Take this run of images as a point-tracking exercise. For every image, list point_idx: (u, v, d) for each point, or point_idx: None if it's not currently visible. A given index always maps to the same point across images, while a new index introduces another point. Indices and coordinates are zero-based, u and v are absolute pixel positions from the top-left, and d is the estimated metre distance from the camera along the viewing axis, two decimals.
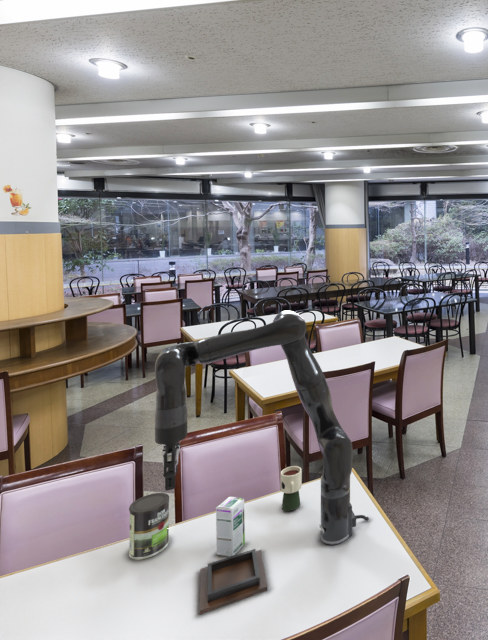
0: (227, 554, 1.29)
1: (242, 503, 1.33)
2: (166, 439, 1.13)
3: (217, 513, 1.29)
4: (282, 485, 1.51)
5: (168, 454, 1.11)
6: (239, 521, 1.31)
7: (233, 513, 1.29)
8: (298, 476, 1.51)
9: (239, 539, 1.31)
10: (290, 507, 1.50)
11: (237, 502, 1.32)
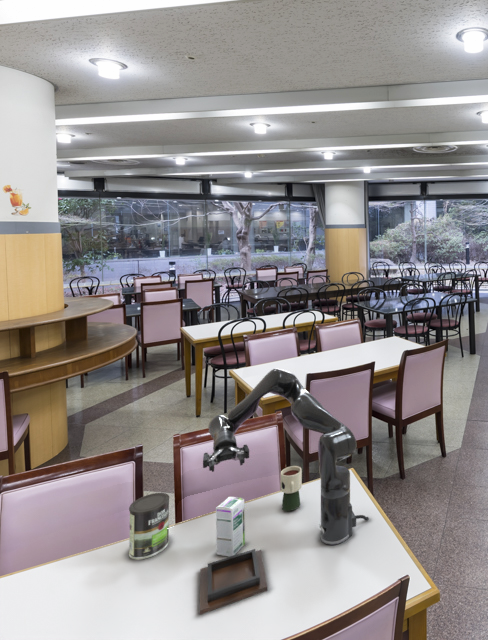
0: (227, 554, 1.29)
1: (242, 503, 1.33)
2: None
3: (217, 513, 1.29)
4: (282, 485, 1.51)
5: None
6: (239, 521, 1.31)
7: (233, 513, 1.29)
8: (298, 476, 1.51)
9: (239, 539, 1.31)
10: (290, 507, 1.50)
11: (237, 502, 1.32)
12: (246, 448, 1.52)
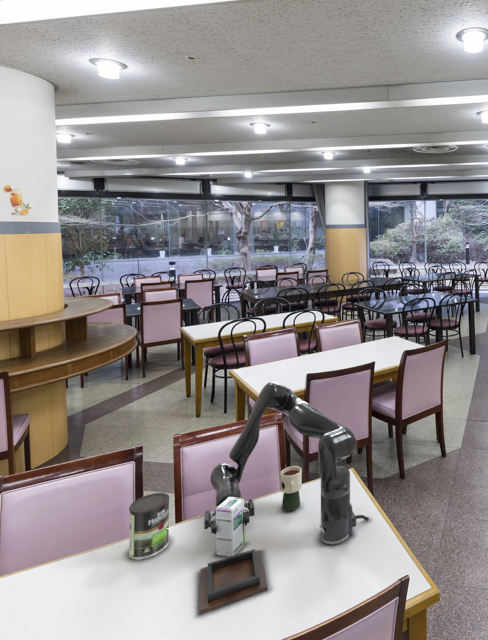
0: (227, 554, 1.29)
1: (242, 503, 1.33)
2: None
3: (217, 513, 1.29)
4: (282, 485, 1.51)
5: None
6: (239, 521, 1.31)
7: (233, 513, 1.29)
8: (298, 476, 1.51)
9: (239, 539, 1.31)
10: (290, 507, 1.50)
11: (237, 502, 1.32)
12: (251, 504, 1.39)
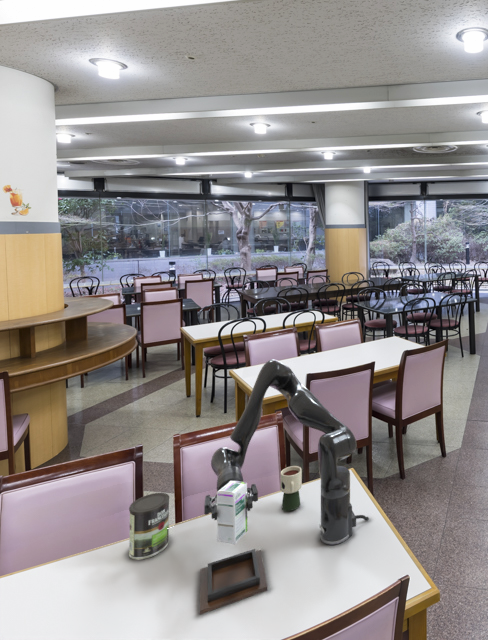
0: (229, 541, 1.20)
1: (245, 487, 1.25)
2: None
3: (218, 497, 1.21)
4: (282, 485, 1.51)
5: None
6: (241, 506, 1.23)
7: (235, 497, 1.21)
8: (298, 476, 1.51)
9: (242, 525, 1.23)
10: (290, 507, 1.50)
11: (239, 486, 1.24)
12: (254, 489, 1.31)
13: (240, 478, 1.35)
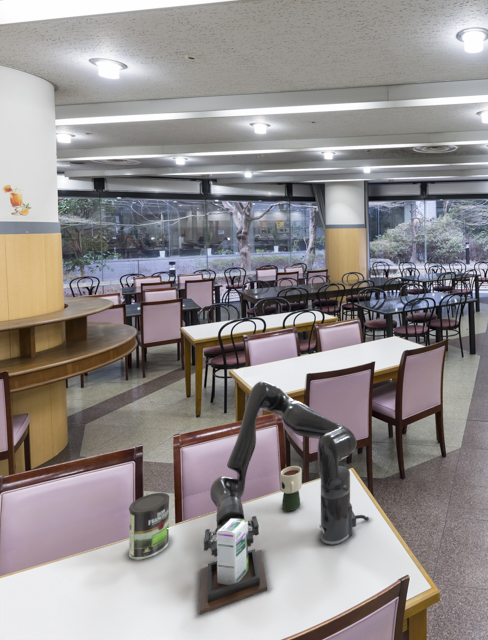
0: (229, 583, 1.16)
1: (245, 526, 1.21)
2: None
3: (218, 537, 1.17)
4: (282, 485, 1.51)
5: None
6: (242, 546, 1.19)
7: (236, 537, 1.17)
8: (298, 476, 1.51)
9: (242, 566, 1.19)
10: (290, 507, 1.50)
11: (240, 524, 1.20)
12: (255, 522, 1.28)
13: (240, 510, 1.32)
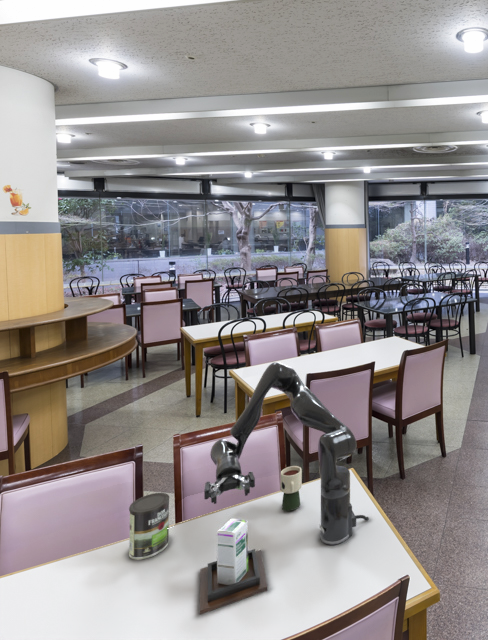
0: (229, 583, 1.16)
1: (245, 526, 1.21)
2: None
3: (218, 538, 1.17)
4: (282, 485, 1.51)
5: None
6: (242, 546, 1.19)
7: (236, 537, 1.17)
8: (298, 476, 1.51)
9: (242, 566, 1.19)
10: (290, 507, 1.50)
11: (240, 524, 1.20)
12: (251, 476, 1.39)
13: (238, 466, 1.43)
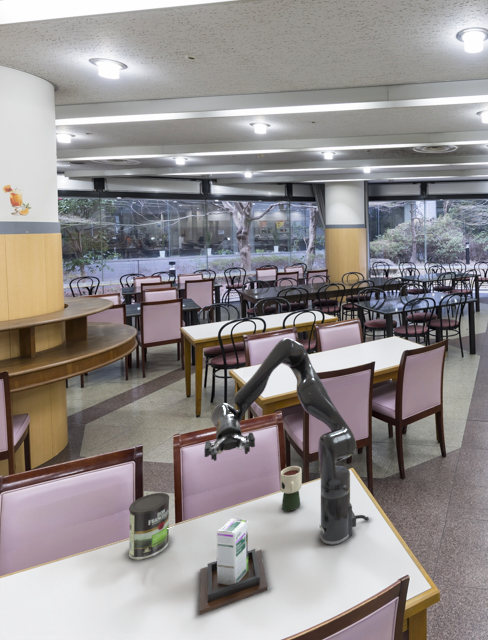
0: (229, 583, 1.16)
1: (245, 526, 1.21)
2: None
3: (218, 538, 1.17)
4: (282, 485, 1.51)
5: None
6: (242, 546, 1.19)
7: (236, 537, 1.17)
8: (298, 476, 1.51)
9: (242, 566, 1.19)
10: (290, 507, 1.50)
11: (240, 524, 1.20)
12: (251, 436, 1.40)
13: (238, 427, 1.43)
